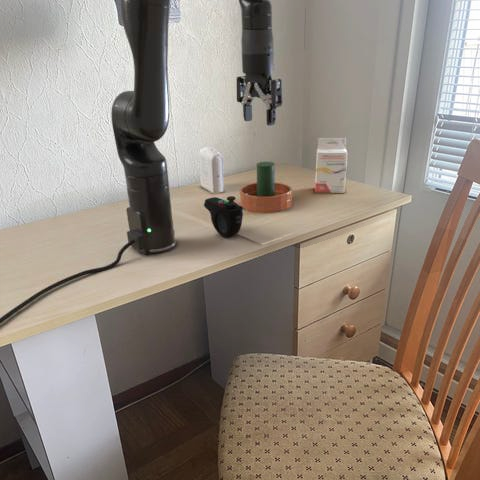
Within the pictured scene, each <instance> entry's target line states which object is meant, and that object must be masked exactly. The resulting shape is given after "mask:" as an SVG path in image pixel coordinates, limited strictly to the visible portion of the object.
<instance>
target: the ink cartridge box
mask: <svg viewBox="0 0 480 480" xmlns="http://www.w3.org/2000/svg"><path fill="white" fill-rule="evenodd" d="M331 142H333V143H335V144H333V143H331ZM347 165H348V150H347V138H346V137H319V138H318V139H317V149H316V161H315V177H314V178H315V181H314V191H315V193H329V194H345V189H346V176H347Z"/></svg>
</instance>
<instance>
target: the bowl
mask: <svg viewBox="0 0 480 480" xmlns="http://www.w3.org/2000/svg"><path fill="white" fill-rule="evenodd" d="M292 205H293V188H292V186H290V185H288V184H286V183H283V182H276V181H275V196H270V197H257V182H252V183H248V184H245V185H243V186H241V187H240V188H239V206H242V207H243V210H245V211H248V212H252V213H253V212H254V213H264V214H265V213H276V212H282V211H284V210H287V209H289V208H291V207H292Z"/></svg>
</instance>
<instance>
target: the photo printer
mask: <svg viewBox="0 0 480 480" xmlns="http://www.w3.org/2000/svg"><path fill="white" fill-rule="evenodd" d="M198 162H199V178H200V185H201V187H202V188H203V189H205V190H207V191H209V192H210V193H212V194H217V193H218V194H219V193H222V192H224V191H225V179H224V159H223V156H222V155H221V152H219V151H218V150H217V149H216V148H214V147H211V146H204V147H202V148H200V150H199V152H198Z"/></svg>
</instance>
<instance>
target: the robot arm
mask: <svg viewBox="0 0 480 480" xmlns="http://www.w3.org/2000/svg"><path fill="white" fill-rule="evenodd" d="M238 3H239V6H240V11H241V12H240V13H241V15H240V16H241V38H240V39H241V40H240V41H241V45H240V46H241V68H242V73H243V74H244V75H240V76H237V77H236V102H237V103H239V104H241V105H242V112H243V113H242V116H243V120H244V122H251V121H252V120H253V105H252V104H253V101H254V99H255V98H257V99H260V100H261V101H262V102H263V103H264V104H265V105H264V106H265V107H266V113H265V114H266V126H270V127H271V126H274V125H275V124H276V122H277V108H278V107H282V106H283V85H282V79H281V78H276V79H275V78H274V79H273V78H272V73H273V72H274V71H275V70H274V69H275V67H274V66H275V65H274V61H275V59H274V58H275V57H274V56H275V55H274V34H273V6H272V2H271V1H270V0H238ZM170 7H171V0H119V10H120V18H121V23H122V27H123V29H124V33H125V35H126V39H127V42H128V45H129V48H130V50H131V55H132V60H133V69H134V70H133V71H134V75H133V76H134V77H133V79H134V80H133V90H125V91H122V92H120V93H119V94H117V96H116V97H115V98H114V100H113V103H112V106H111V112H110V113H111V115H110V117H111V125H112V131H113V136H114V141H115V146H116V151H117V156H118V159H119V161H120V164H121V165H122V167H123V172H124V176H125V177H124V178H125V184H126V185H125V186H126V193H127V198H128V205H129V206H128V207H126V209H125V210H126V216H127V217H126V218H127V223H128V229H129V230H128V231H126V236H127V241H128V242H127V243H126V244H124V246H122V248H121V249H120V250H119V251H118V253H117V256H116V259H115V260H114V261H113V262H112V263H110V264H107V265H105V266H101V267H96V268H90V269H85V270H83V271H81V272H78V273H75V274H73V275H70V276H68V277H65V278H62V279H61V280H58V281H56V282H54V283H52V284H51V285H48V286H47V287H44V288H43V289H41V290H40V291H38V292H35V294H33V295H31V296H30V297H29V298H27V299H25V300H24V301H22V302H21V303H20V304H18V305H17V306H15V307H13V308H12V309H11V310H9V311H8V312H7V313H5V314H4V315H2V316H1V317H0V324H2V323H4V322H5V321H6V320H8V319H9V318H10V317H11V316H13V315H14V314H15V313H17V312H18V311H21V310H22V309H23V308H25V307H26V306H28V305H29V304H30V303H32V302H33V301H35V300H36V299H38V298H39V297H41V296H43V295H44V294H46V293H48V292H49V291H51V290H54V289H55V288H57V287H60V286H61V285H63V284H66V283H68V282H71V281H73V280H75V279H78V278H81V277H82V276H83V277H84V276H85V275H86V276H87V275H89V274H95V273H99V272H104V271H107V270H110V269H112V268H114V267H116V266H117V265H118V264H119V263H120V261H121V260H122V256H123V255H124V252H125V251H126V250H127V249H128V248H129V247H131V248H133V249H134V250H137V252H140V253H141V254H143V255H149V254H158V253H163V252H168V251H169V250H172V249H173V248H174V247H175V246H176V245H177V244H176V243H177V242H176V238H175V228H174V220H173V219H174V218H173V210H172V200H171V191H170V190H171V189H170V180H169V171H168V170H169V169H168V162H167V158H166V157H165V156H164V155H163V153H162V152H161V151H160V149H158V147H157V145H156V143H155V142H158V141H159V140H160V139H162V138H163V137H164V135H166V132H167V130H168V127H169V122H170V95H169V94H170V93H169V77H168V76H169V74H168V61H169V60H168V55H169V25H170V24H169V22H170V10H171V9H170Z"/></svg>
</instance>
